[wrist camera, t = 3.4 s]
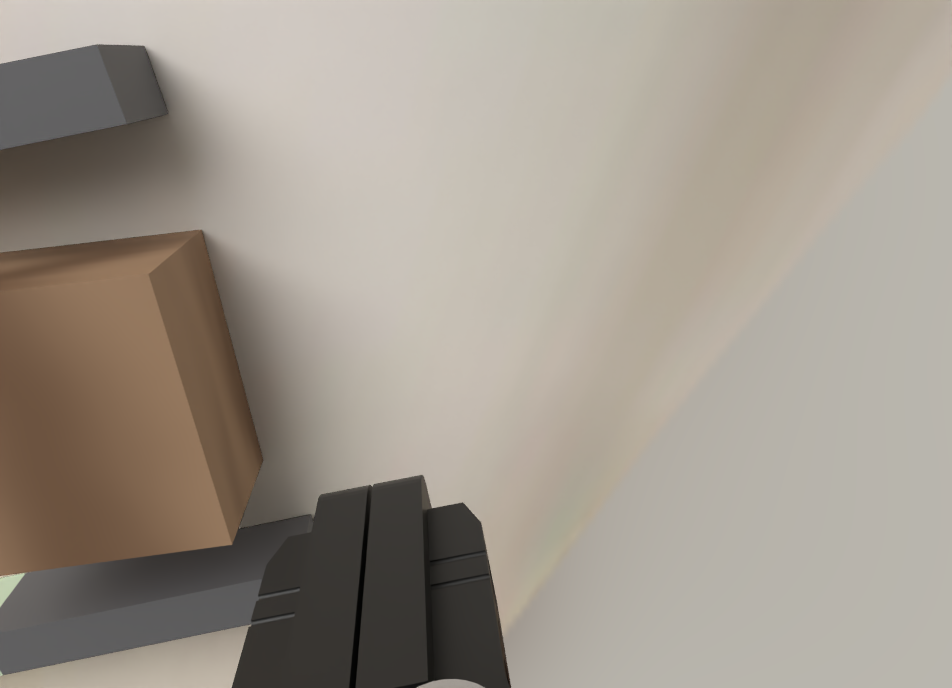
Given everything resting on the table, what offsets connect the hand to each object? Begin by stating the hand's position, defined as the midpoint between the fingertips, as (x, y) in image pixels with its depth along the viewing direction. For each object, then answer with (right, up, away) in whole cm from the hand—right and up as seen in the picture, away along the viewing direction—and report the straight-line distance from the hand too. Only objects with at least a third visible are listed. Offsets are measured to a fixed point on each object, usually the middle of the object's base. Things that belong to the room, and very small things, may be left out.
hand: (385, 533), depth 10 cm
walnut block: (-9, +2, +9) cm, 13 cm away
